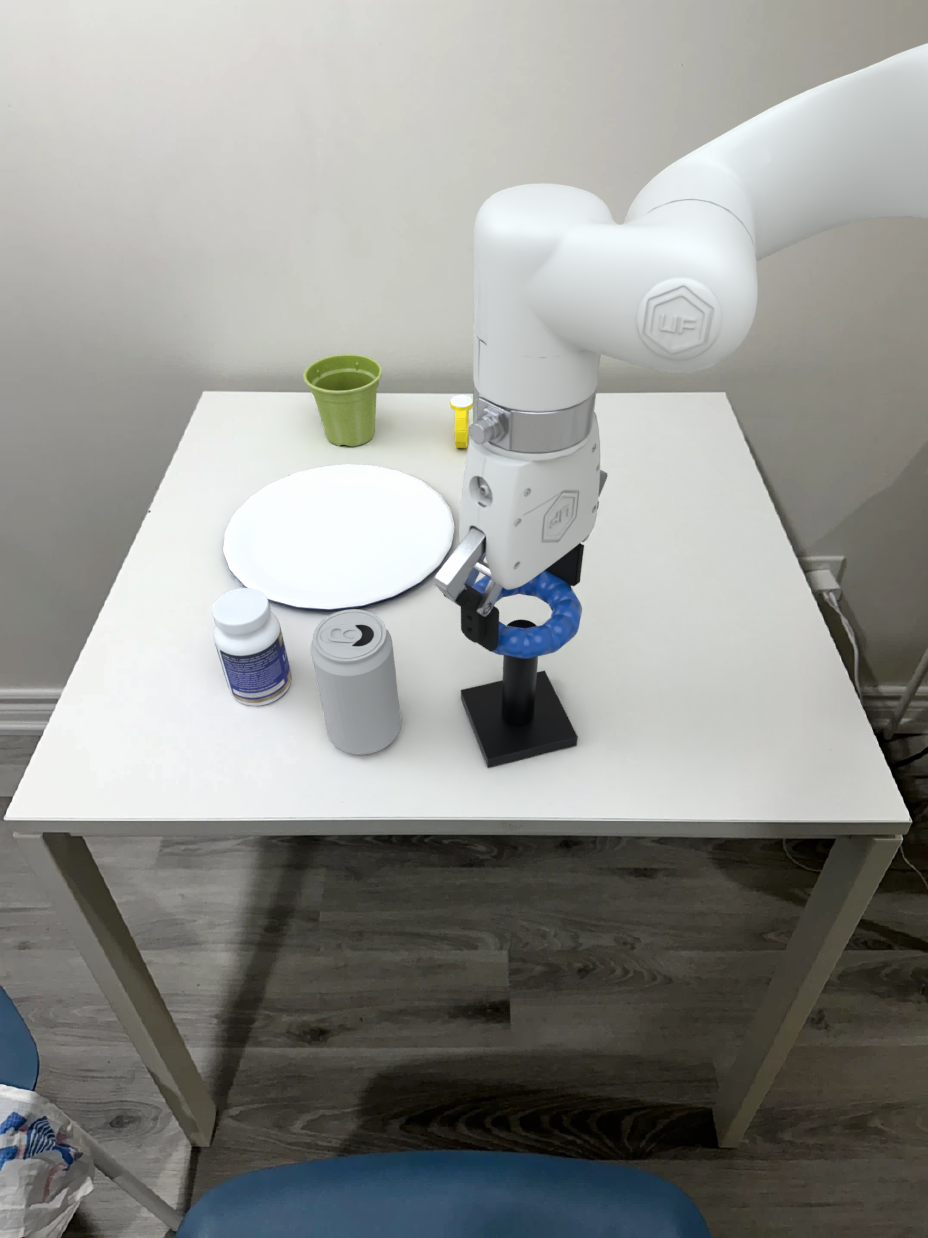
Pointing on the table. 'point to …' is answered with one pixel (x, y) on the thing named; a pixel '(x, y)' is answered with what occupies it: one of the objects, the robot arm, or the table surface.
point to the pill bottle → (250, 647)
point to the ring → (547, 634)
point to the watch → (461, 418)
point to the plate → (339, 536)
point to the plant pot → (345, 396)
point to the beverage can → (356, 681)
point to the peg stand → (518, 712)
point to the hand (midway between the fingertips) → (521, 607)
